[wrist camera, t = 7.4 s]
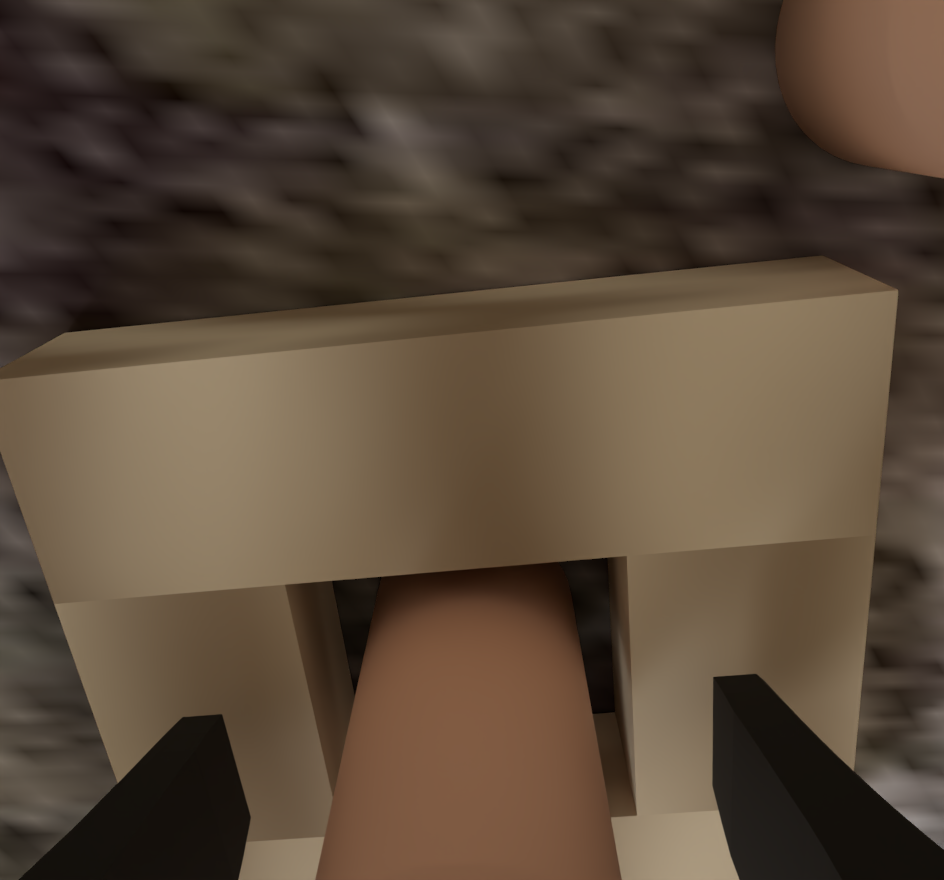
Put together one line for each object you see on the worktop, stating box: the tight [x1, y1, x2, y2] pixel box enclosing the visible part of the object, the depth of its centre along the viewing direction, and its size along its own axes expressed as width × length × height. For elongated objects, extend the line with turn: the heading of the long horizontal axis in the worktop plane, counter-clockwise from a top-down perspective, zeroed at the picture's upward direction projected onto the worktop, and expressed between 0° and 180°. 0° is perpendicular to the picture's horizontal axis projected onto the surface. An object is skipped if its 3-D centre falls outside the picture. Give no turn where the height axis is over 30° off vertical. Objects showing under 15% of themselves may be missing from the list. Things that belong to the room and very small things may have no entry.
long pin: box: [315, 562, 622, 880], centre depth 12 cm, size 4×4×7 cm
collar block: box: [0, 255, 898, 880], centre depth 14 cm, size 12×12×2 cm
